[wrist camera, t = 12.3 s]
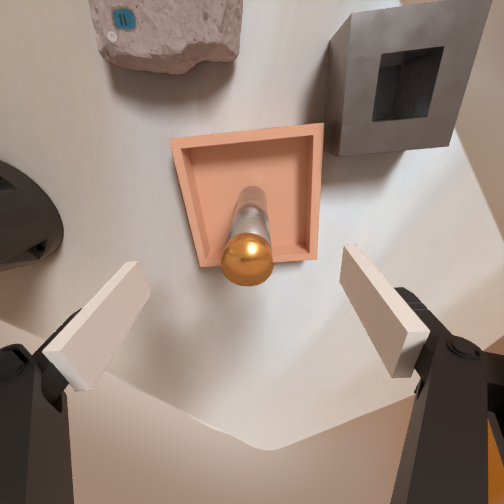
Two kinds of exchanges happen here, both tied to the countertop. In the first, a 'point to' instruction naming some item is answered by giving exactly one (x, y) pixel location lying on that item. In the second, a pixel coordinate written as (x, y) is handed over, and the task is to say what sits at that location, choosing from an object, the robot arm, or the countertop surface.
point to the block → (401, 75)
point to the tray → (253, 174)
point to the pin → (249, 241)
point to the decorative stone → (166, 32)
